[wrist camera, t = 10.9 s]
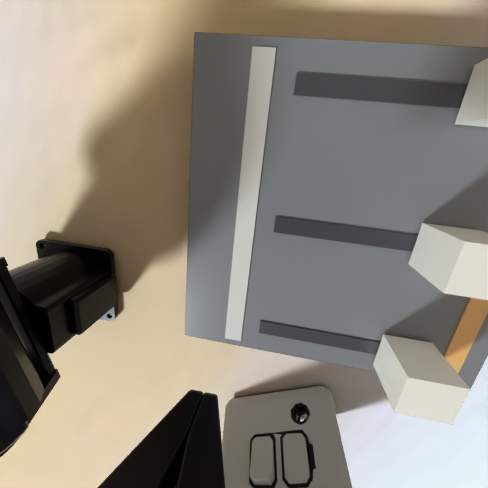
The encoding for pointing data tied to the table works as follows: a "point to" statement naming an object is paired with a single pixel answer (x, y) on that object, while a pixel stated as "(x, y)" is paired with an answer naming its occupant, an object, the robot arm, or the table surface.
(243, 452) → the electrical switch
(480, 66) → the handle
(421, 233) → the handle middle
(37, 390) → the robot arm
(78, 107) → the table surface
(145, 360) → the table surface
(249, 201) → the breaker panel
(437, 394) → the handle
